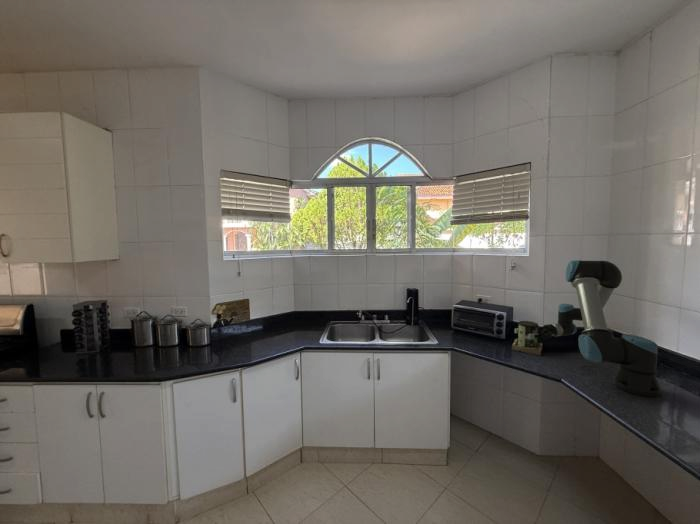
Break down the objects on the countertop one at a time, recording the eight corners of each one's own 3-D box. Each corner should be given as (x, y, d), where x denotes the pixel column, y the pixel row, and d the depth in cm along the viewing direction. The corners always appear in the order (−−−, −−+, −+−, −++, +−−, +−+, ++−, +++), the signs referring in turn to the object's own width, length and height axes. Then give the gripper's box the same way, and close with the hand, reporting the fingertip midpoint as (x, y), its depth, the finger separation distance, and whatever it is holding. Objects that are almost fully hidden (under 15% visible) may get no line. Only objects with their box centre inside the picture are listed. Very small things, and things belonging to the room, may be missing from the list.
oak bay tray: (540, 355, 172) (540, 350, 171) (512, 350, 180) (512, 345, 180) (542, 347, 183) (542, 343, 183) (515, 343, 192) (515, 338, 192)
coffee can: (540, 346, 181) (541, 323, 180) (533, 350, 174) (534, 326, 173) (521, 341, 189) (522, 319, 188) (514, 345, 182) (515, 323, 181)
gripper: (569, 342, 174) (537, 346, 169) (536, 330, 196) (507, 333, 191) (569, 329, 174) (537, 333, 169) (537, 319, 196) (508, 322, 191)
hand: (521, 333), depth 180 cm, fingers closed on coffee can, 10 cm apart
